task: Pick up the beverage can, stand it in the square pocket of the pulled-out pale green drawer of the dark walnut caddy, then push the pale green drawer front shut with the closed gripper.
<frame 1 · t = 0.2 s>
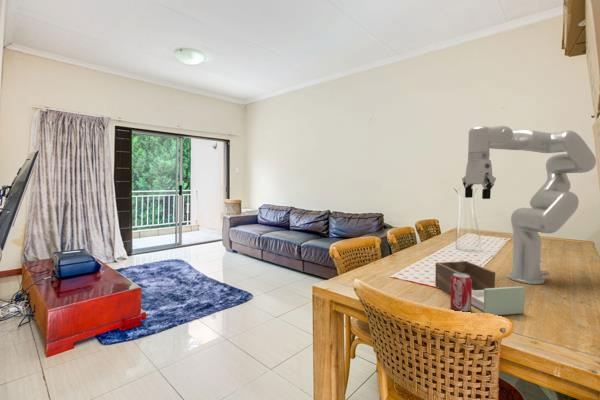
hand: (477, 198, 118), 37 cm above the table, tool pointing down, fingers open, 9 cm apart
beverage can: (460, 309, 97), on the table
pale green drawer: (487, 292, 99), point 5 cm above the table, slide at 11.0 cm
caddy: (463, 292, 111), on the table
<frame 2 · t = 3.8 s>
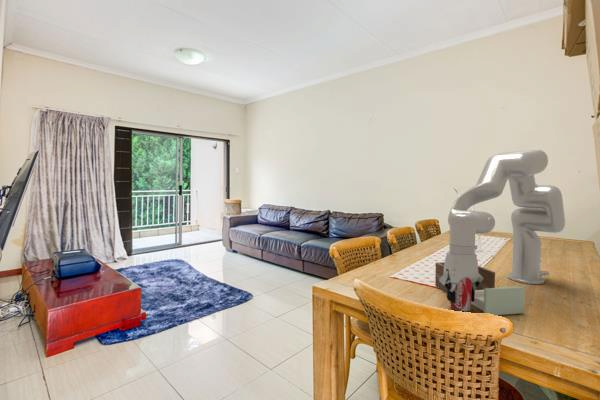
hand: (460, 300, 97), 3 cm above the table, tool pointing down, fingers closed on beverage can, 6 cm apart
beverage can: (460, 309, 97), on the table, touching gripper
everything else where it was.
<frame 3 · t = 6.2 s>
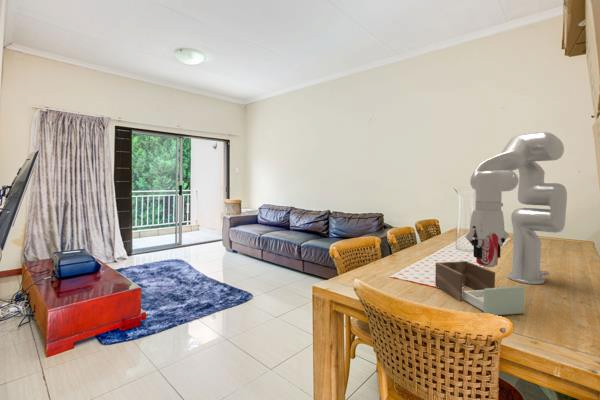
hand: (486, 256, 99), 17 cm above the table, tool pointing down, fingers closed on beverage can, 6 cm apart
beverage can: (486, 265, 99), point 14 cm above the table, touching gripper
everything else where it was.
when the fingers open (5 cm above the table, at t = 8.8 s): beverage can drops 1 cm, resting on pale green drawer.
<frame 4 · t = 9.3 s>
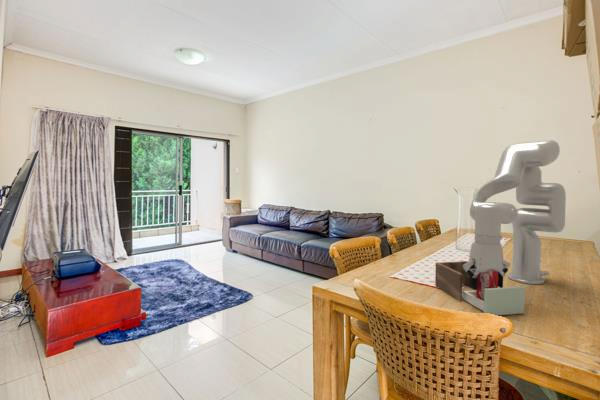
hand: (485, 287, 100), 6 cm above the table, tool pointing down, fingers open, 9 cm apart
beverage can: (486, 301, 100), point 1 cm above the table, touching pale green drawer
pale green drawer: (488, 292, 99), point 5 cm above the table, slide at 11.1 cm, touching beverage can
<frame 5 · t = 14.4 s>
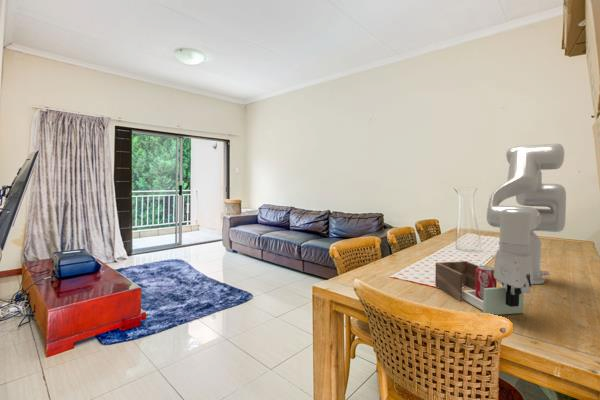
hand: (512, 305, 89), 5 cm above the table, tool pointing down, fingers closed
pale green drawer: (487, 292, 99), point 5 cm above the table, slide at 10.7 cm, touching beverage can, gripper
everything else where it was.
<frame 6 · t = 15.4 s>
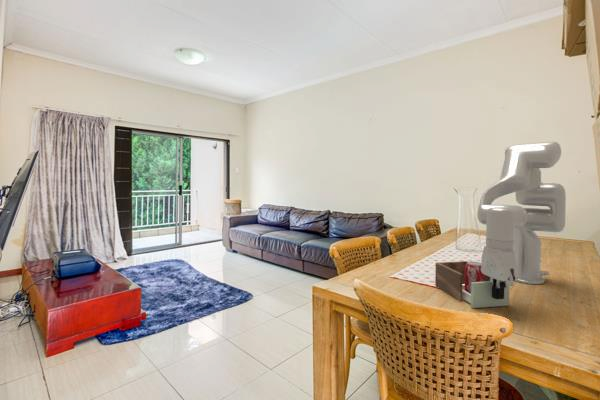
hand: (497, 298, 94), 5 cm above the table, tool pointing down, fingers closed
beverage can: (473, 295, 106), point 1 cm above the table, touching pale green drawer
pale green drawer: (475, 286, 105), point 5 cm above the table, slide at 5.1 cm, touching beverage can, gripper
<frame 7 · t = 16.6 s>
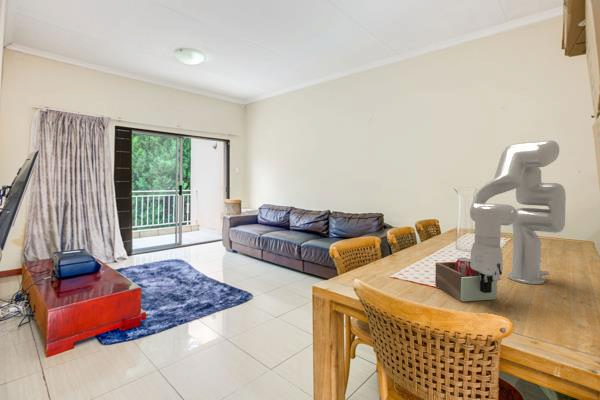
hand: (485, 291, 100), 5 cm above the table, tool pointing down, fingers closed
beverage can: (464, 289, 111), point 1 cm above the table, touching pale green drawer
pale green drawer: (465, 281, 110), point 5 cm above the table, slide at -0.1 cm, touching beverage can, gripper
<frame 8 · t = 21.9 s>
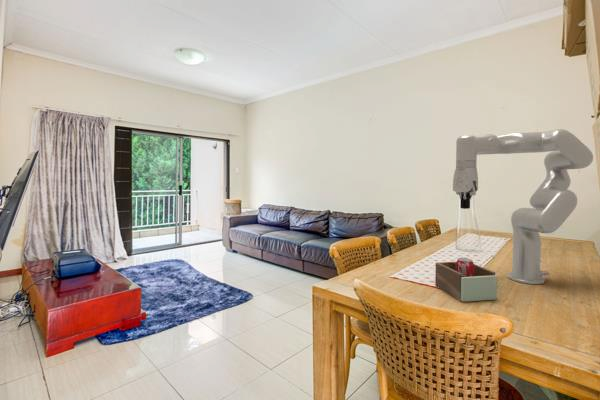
hand: (465, 208, 121), 32 cm above the table, tool pointing down, fingers closed
pale green drawer: (465, 281, 110), point 5 cm above the table, slide at 0.0 cm, touching beverage can
everything else where it was.
at the end: pale green drawer slide at 0.0 cm; beverage can inside the target area on the caddy (0.2 cm from its centre), point 1.0 cm above the caddy's base; beverage can tilted 0° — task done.
